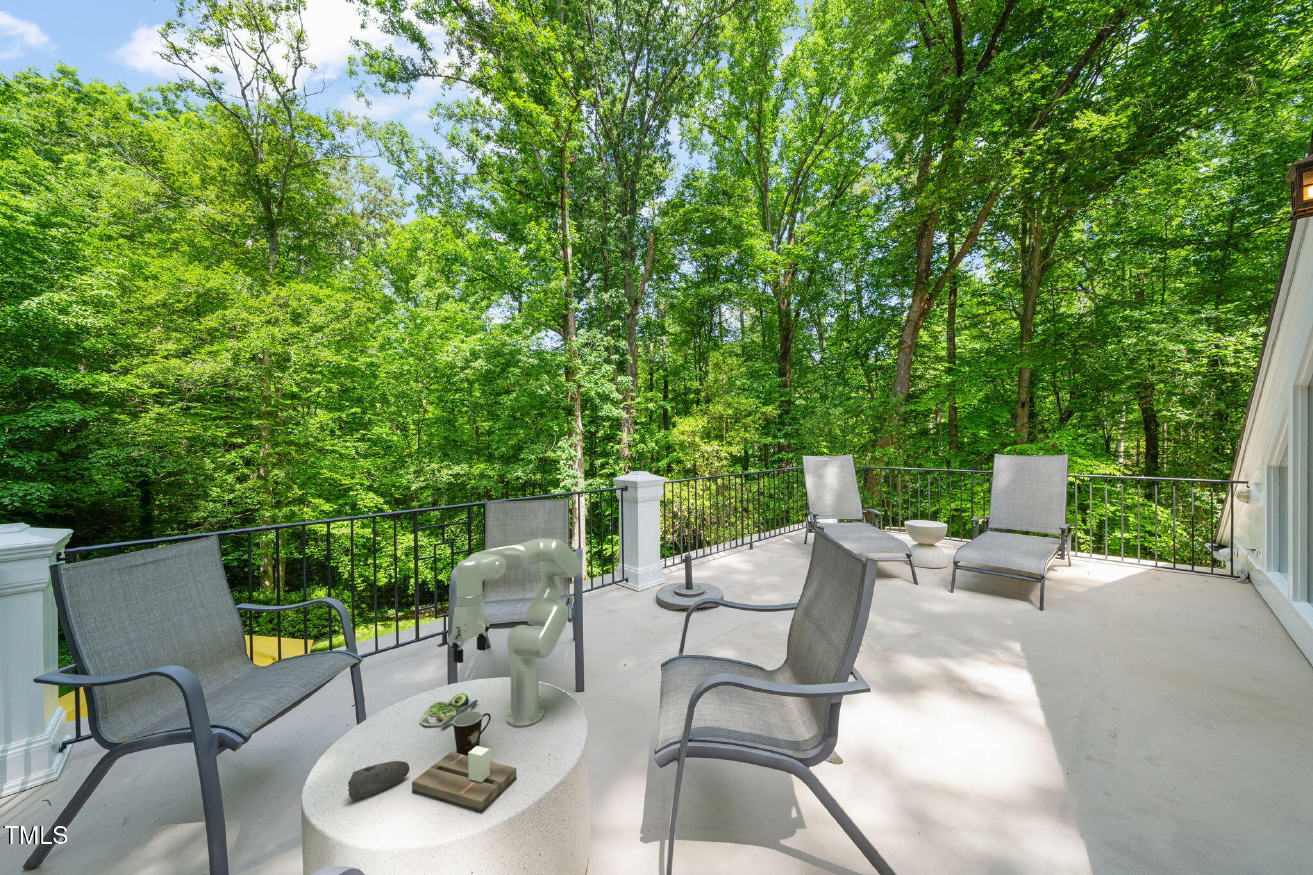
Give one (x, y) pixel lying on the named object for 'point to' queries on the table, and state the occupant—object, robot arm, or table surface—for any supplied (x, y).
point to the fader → (479, 763)
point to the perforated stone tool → (376, 778)
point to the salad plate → (447, 710)
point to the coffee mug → (468, 731)
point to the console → (463, 783)
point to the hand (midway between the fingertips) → (470, 655)
